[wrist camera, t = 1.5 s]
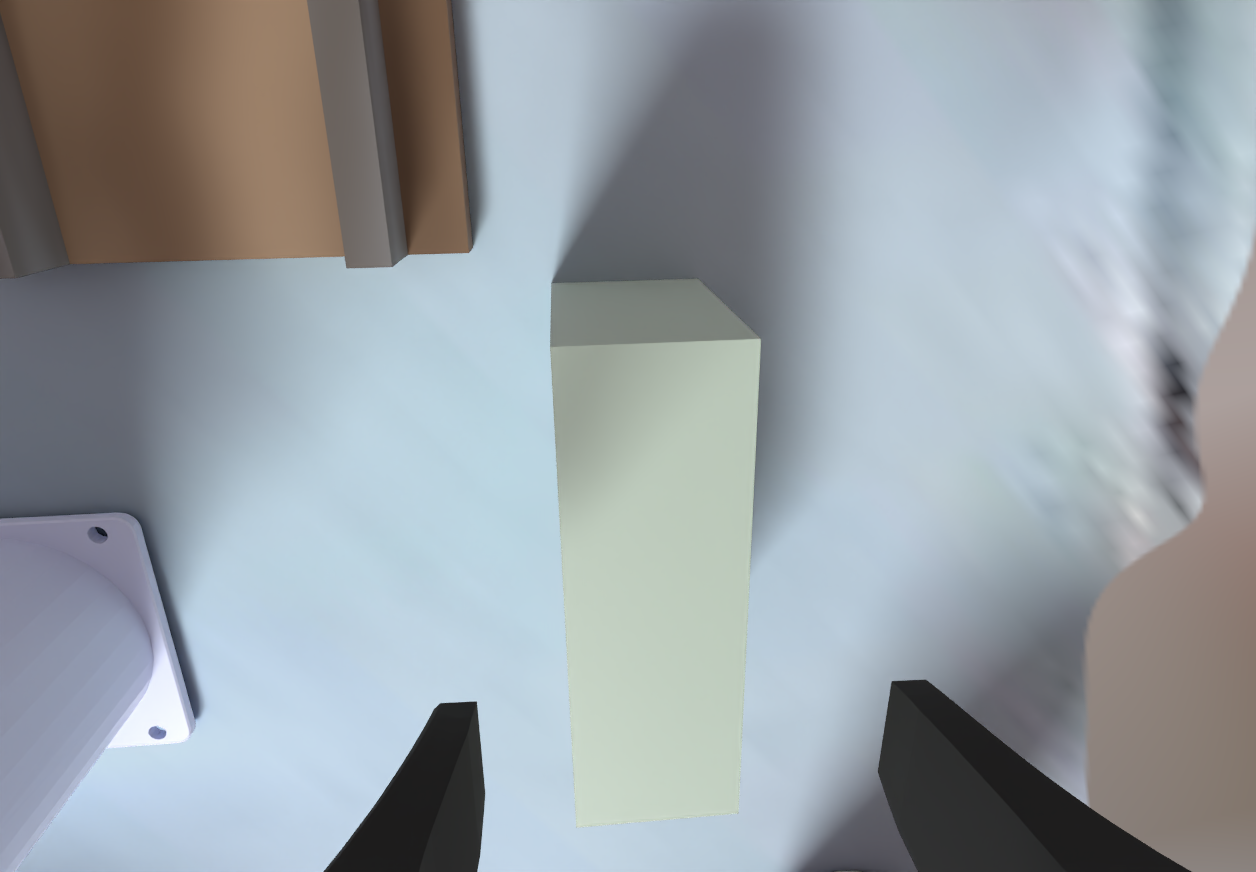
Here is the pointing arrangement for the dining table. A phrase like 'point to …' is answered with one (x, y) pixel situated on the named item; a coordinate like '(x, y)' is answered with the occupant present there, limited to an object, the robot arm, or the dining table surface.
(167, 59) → the track
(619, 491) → the pale green block
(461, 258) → the dining table surface
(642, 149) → the dining table surface
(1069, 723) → the dining table surface
